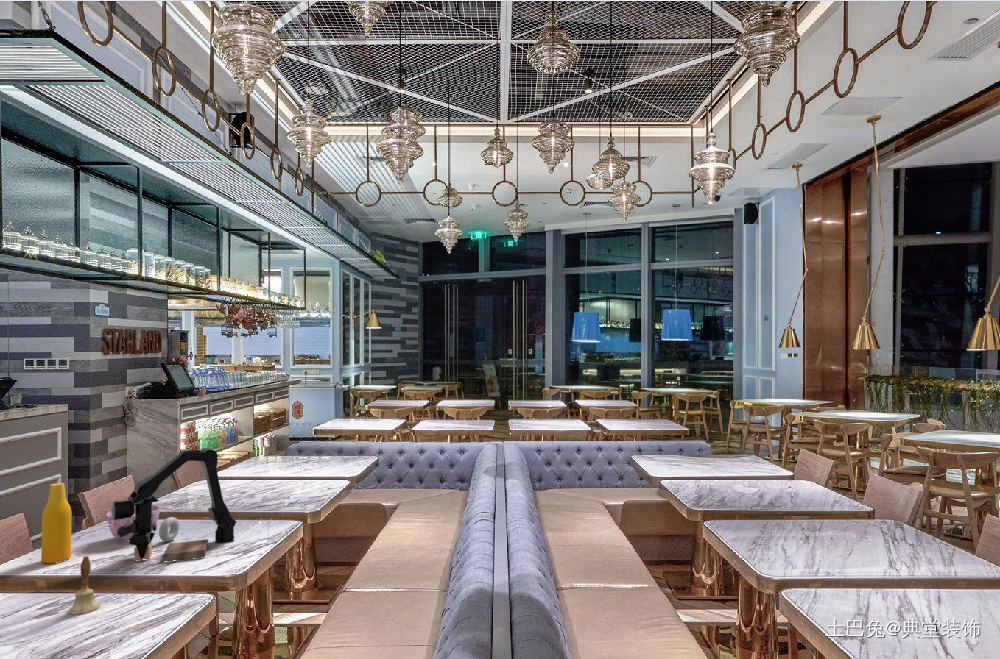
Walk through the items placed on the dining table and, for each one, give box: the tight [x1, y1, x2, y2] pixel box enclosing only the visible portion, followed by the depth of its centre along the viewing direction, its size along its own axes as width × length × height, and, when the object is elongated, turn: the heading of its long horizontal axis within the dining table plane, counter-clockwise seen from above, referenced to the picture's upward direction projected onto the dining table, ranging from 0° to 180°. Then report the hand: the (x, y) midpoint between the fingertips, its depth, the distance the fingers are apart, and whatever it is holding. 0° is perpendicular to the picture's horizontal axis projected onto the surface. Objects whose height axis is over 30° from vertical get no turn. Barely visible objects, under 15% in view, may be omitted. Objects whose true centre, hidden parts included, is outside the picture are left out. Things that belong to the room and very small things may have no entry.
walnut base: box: [162, 538, 209, 563], centre depth 234 cm, size 14×14×3 cm
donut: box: [158, 516, 180, 543], centre depth 251 cm, size 10×4×10 cm, turn 171°
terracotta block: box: [133, 542, 153, 562], centre depth 230 cm, size 5×5×5 cm
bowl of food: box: [106, 504, 161, 542], centre depth 256 cm, size 20×20×12 cm
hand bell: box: [67, 555, 101, 616], centre depth 185 cm, size 8×8×16 cm
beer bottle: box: [40, 482, 73, 564], centre depth 229 cm, size 9×9×29 cm
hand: (143, 555), depth 230 cm, fingers closed on terracotta block, 5 cm apart
